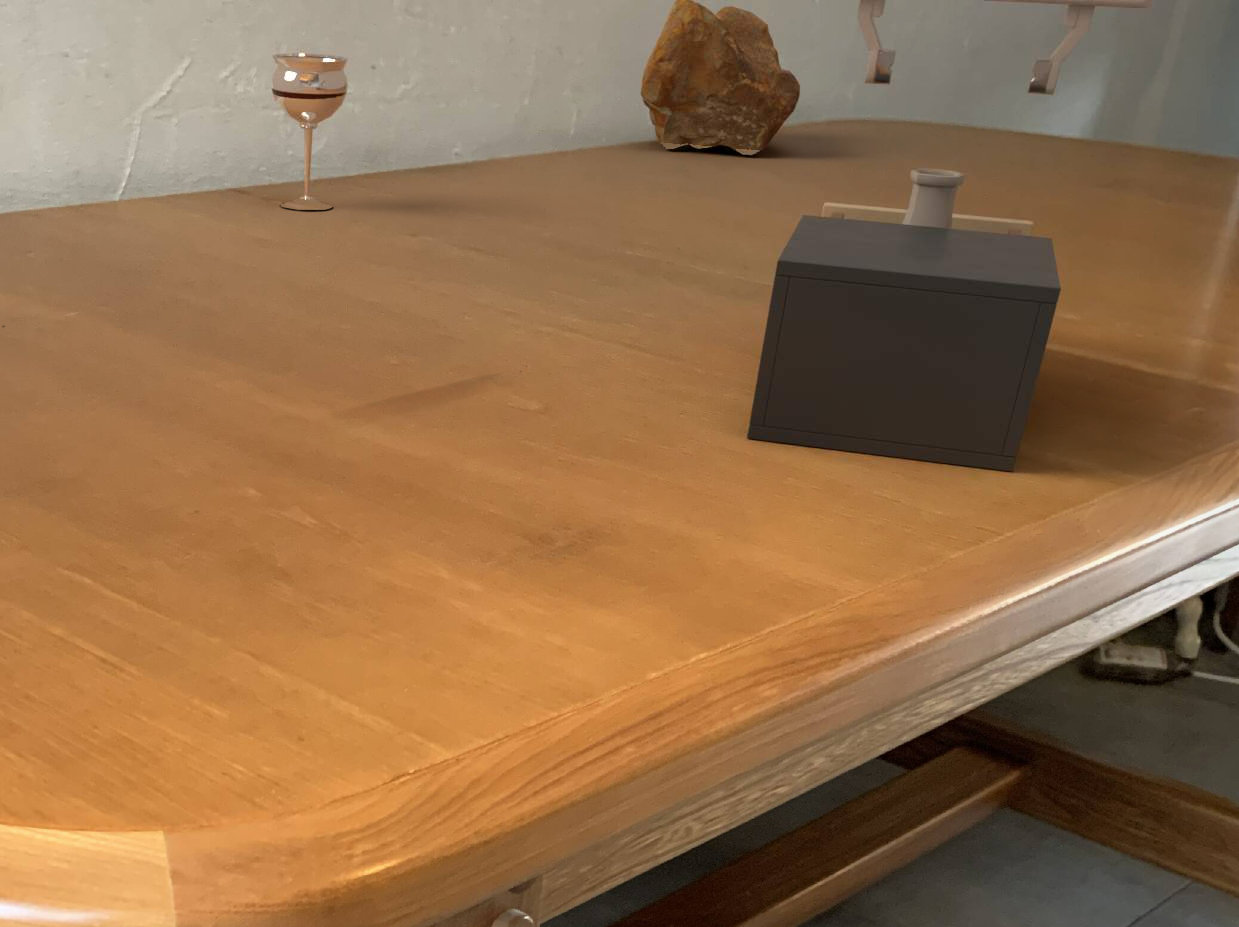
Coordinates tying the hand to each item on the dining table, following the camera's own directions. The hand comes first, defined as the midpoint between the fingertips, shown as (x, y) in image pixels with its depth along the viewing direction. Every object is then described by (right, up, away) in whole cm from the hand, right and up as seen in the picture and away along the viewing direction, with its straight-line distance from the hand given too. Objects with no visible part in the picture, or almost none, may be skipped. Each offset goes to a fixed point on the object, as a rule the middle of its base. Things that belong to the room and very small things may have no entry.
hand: (957, 88), depth 101 cm
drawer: (0, -12, +11) cm, 16 cm away
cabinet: (-5, -20, 0) cm, 21 cm away
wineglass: (-40, +17, +53) cm, 69 cm away
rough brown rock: (+7, +44, +96) cm, 105 cm away
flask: (-1, -12, +8) cm, 15 cm away
